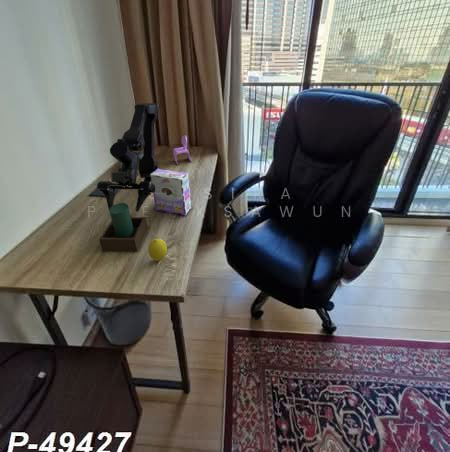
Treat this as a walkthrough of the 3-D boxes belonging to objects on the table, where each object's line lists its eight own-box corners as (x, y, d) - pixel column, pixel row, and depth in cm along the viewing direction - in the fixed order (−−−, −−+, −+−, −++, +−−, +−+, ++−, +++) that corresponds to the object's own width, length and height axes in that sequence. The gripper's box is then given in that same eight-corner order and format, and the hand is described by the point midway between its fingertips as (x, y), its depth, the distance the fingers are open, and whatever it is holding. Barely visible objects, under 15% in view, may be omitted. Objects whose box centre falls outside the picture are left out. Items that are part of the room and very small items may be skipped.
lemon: (152, 253, 81) (148, 234, 77) (169, 252, 81) (166, 233, 78) (148, 267, 76) (144, 247, 72) (167, 265, 76) (164, 245, 73)
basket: (116, 227, 92) (113, 216, 90) (147, 227, 92) (145, 217, 90) (102, 250, 82) (98, 239, 80) (137, 251, 82) (134, 239, 80)
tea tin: (133, 229, 90) (127, 201, 85) (135, 239, 85) (128, 210, 80) (116, 233, 88) (109, 205, 83) (117, 244, 83) (109, 215, 78)
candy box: (192, 208, 103) (188, 172, 96) (185, 216, 98) (181, 179, 91) (162, 202, 107) (157, 167, 100) (155, 209, 102) (149, 174, 95)
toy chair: (173, 160, 146) (170, 135, 139) (188, 157, 149) (186, 133, 142) (177, 165, 139) (174, 140, 132) (192, 162, 142) (190, 137, 135)
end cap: (138, 170, 135) (136, 158, 131) (126, 169, 136) (123, 157, 133) (146, 162, 143) (144, 151, 140) (135, 161, 144) (133, 150, 141)
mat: (103, 183, 122) (102, 182, 122) (124, 184, 121) (124, 183, 120) (89, 195, 112) (89, 194, 112) (112, 197, 111) (112, 196, 111)
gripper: (91, 159, 82) (83, 207, 77) (148, 160, 82) (142, 207, 77) (107, 170, 93) (100, 212, 88) (157, 170, 92) (153, 213, 88)
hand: (123, 211), depth 85 cm, fingers open, 9 cm apart
